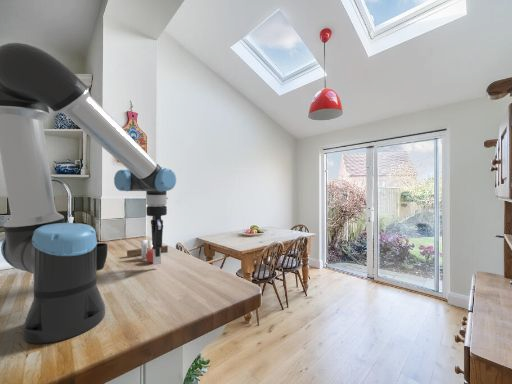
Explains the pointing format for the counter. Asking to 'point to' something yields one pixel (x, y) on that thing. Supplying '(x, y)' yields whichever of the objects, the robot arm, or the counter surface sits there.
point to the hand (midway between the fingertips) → (157, 263)
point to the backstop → (138, 252)
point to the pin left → (144, 249)
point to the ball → (149, 255)
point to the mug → (101, 255)
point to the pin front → (150, 245)
